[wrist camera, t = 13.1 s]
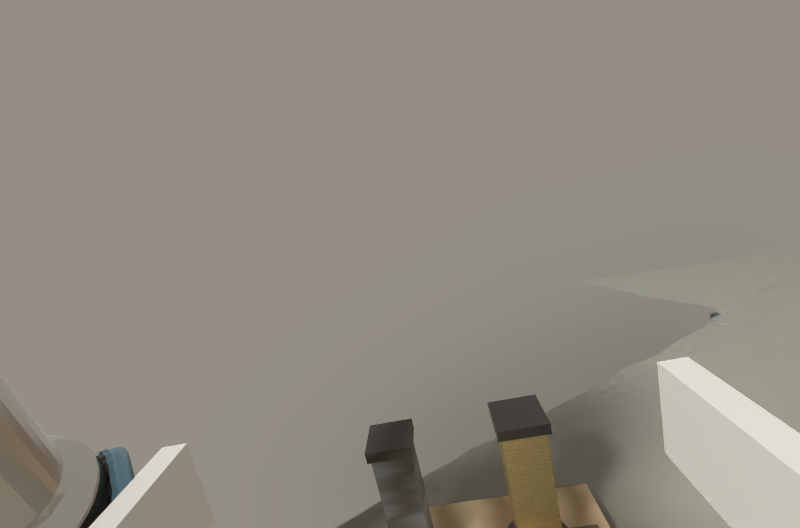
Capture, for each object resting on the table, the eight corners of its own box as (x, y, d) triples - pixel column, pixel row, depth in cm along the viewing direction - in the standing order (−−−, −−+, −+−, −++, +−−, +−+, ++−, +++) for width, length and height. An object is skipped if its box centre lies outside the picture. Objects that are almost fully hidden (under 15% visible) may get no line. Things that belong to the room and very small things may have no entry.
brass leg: (520, 562, 38) (496, 432, 35) (509, 520, 42) (487, 402, 39) (570, 555, 38) (550, 423, 35) (554, 514, 42) (535, 394, 39)
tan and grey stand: (389, 642, 36) (345, 489, 33) (395, 526, 48) (364, 405, 44) (647, 610, 34) (629, 445, 31) (588, 498, 46) (570, 369, 42)
